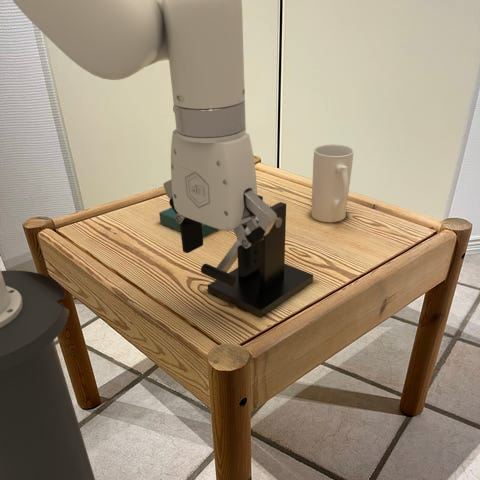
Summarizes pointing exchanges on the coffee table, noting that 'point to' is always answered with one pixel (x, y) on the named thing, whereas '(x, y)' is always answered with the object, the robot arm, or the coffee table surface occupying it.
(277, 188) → the coffee table surface
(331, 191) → the mug
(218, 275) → the lever
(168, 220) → the button box
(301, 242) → the coffee table surface
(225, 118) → the robot arm
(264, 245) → the bracket
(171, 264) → the coffee table surface
